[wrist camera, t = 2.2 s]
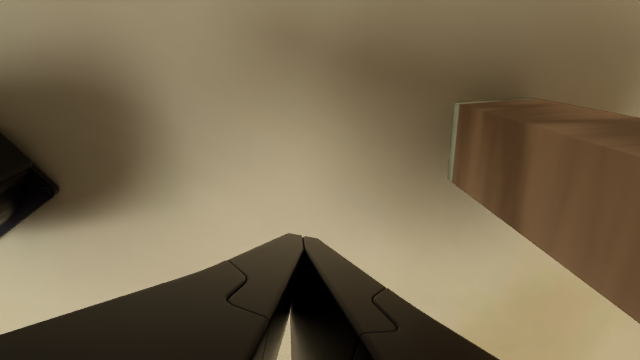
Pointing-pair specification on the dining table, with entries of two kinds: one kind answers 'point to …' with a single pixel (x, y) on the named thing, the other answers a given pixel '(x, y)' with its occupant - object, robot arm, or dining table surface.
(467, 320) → the dining table surface
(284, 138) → the dining table surface
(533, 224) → the walnut block
